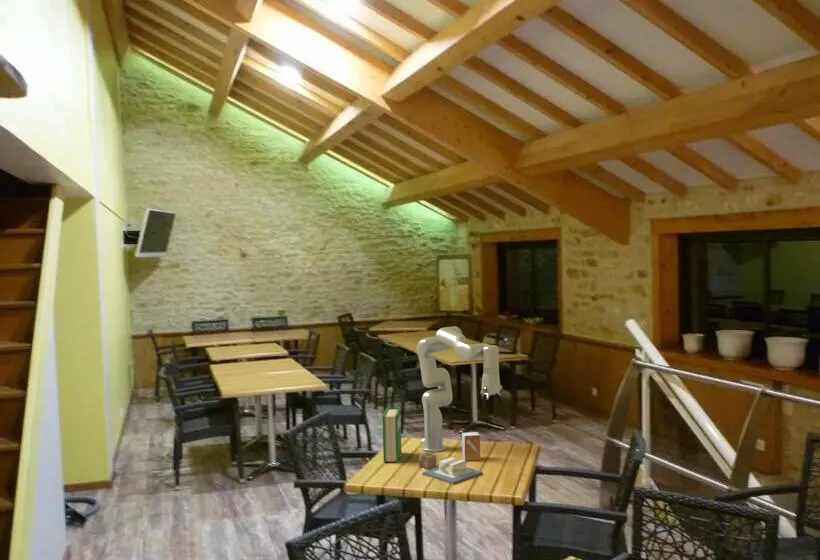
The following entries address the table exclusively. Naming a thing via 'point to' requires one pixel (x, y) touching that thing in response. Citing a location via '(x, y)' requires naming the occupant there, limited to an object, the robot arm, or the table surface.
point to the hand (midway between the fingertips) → (491, 405)
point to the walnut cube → (427, 461)
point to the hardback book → (392, 434)
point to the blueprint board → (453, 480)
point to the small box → (471, 446)
